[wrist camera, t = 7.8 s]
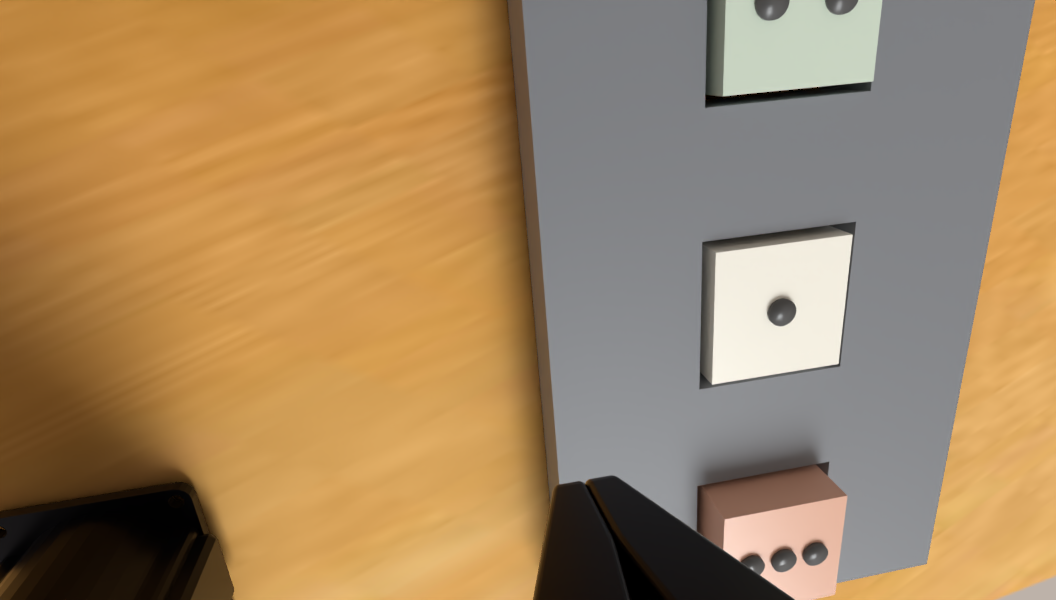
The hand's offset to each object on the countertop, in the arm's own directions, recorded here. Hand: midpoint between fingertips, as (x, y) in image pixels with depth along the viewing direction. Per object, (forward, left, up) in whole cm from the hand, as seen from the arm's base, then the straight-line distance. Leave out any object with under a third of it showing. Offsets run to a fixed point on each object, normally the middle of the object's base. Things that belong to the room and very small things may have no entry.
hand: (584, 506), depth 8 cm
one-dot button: (+9, -3, -13) cm, 16 cm away
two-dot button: (+9, +7, -13) cm, 17 cm away
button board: (+9, -3, -13) cm, 16 cm away
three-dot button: (+9, -12, -11) cm, 19 cm away
